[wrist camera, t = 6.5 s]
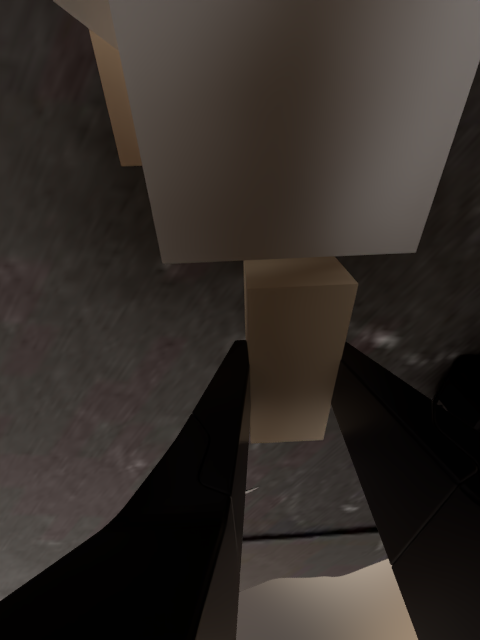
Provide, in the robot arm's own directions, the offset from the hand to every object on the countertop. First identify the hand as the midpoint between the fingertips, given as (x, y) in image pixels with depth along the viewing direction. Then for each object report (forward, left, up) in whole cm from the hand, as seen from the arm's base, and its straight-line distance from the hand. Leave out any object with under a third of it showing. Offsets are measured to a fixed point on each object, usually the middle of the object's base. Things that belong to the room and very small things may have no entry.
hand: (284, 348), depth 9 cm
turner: (0, -3, -1) cm, 3 cm away
